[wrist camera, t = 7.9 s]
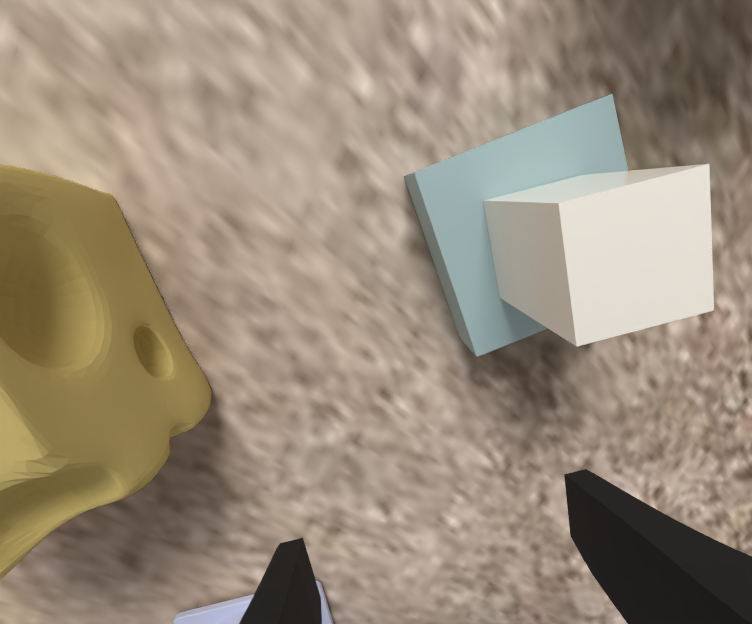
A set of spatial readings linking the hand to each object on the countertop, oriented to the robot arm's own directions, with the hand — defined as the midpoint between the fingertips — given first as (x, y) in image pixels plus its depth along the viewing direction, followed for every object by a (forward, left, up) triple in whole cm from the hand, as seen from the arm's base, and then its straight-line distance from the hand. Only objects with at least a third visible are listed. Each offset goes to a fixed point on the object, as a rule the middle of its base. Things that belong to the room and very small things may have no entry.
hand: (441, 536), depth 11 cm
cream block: (+6, -7, -7) cm, 12 cm away
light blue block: (+6, -7, -10) cm, 14 cm away
